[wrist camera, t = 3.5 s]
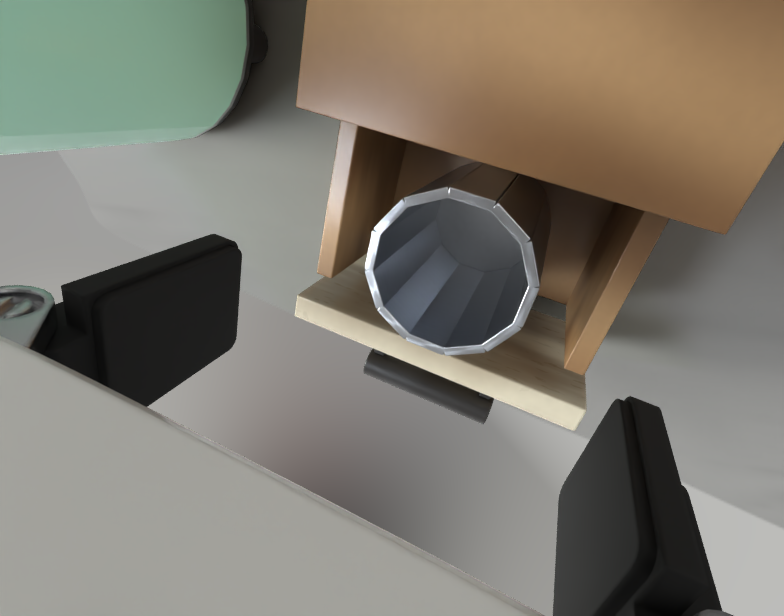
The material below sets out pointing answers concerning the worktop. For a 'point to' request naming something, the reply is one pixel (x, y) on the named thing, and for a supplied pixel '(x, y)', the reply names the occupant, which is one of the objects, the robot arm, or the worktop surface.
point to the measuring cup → (461, 259)
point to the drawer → (540, 332)
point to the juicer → (120, 70)
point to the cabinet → (567, 90)
